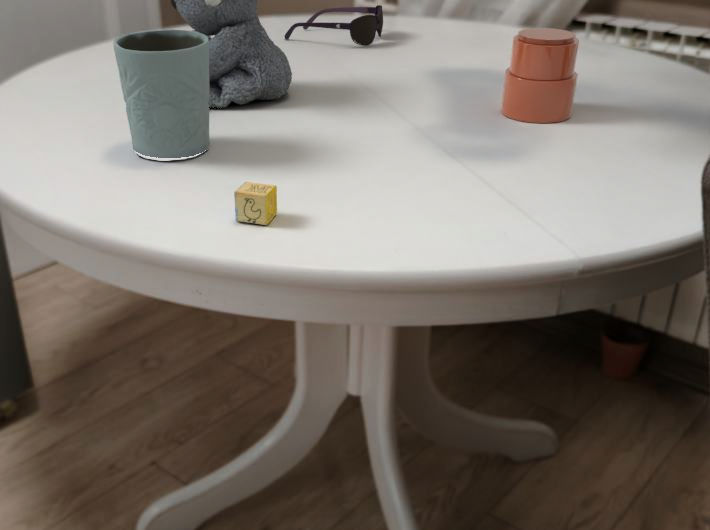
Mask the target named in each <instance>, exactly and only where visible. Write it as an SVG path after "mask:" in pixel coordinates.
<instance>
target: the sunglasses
mask: <svg viewBox="0 0 710 530" xmlns="http://www.w3.org/2000/svg"><path fill="white" fill-rule="evenodd" d="M335 12H336V13H338V12H339V13H357V14H358V13H359V14H360V13H361V14H364V15H360V16H358V17H356V18H354V19H352V20H351V21H350V22H315V20H316V19H317V18H318V17H319V16H321V15H323V14H326V13H335ZM299 27H302V29H303V30H308V29H309V28H322V29H331V30H346V31H349V35H350V38H351V40H352V42H353V43H355V44H356V45H358V46H361V47H363V46H364V47H366V46H370V45H371V44H372V43H373V42H374V40H375V38H376V34H377V36H378V37H379V38H381V37H382V32H383V27H384V14H383V6H382V5H381V4H380V5H378V4H377V5H376V6H346V7H331V8H330V7H329V8H324V9H321V10H319V11H317V12H315V13H314V14H313V15H312V16H311V17H309V18H308V20H307V21H305V22H295V23H294V24H292V25H291V26H290V28H288V30H287V31H286V32H285V34H284V40H286V41H288V40H289V39H290V37H291V36H292V34H293V32H294V30H295V29H296V28H299Z"/></svg>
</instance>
